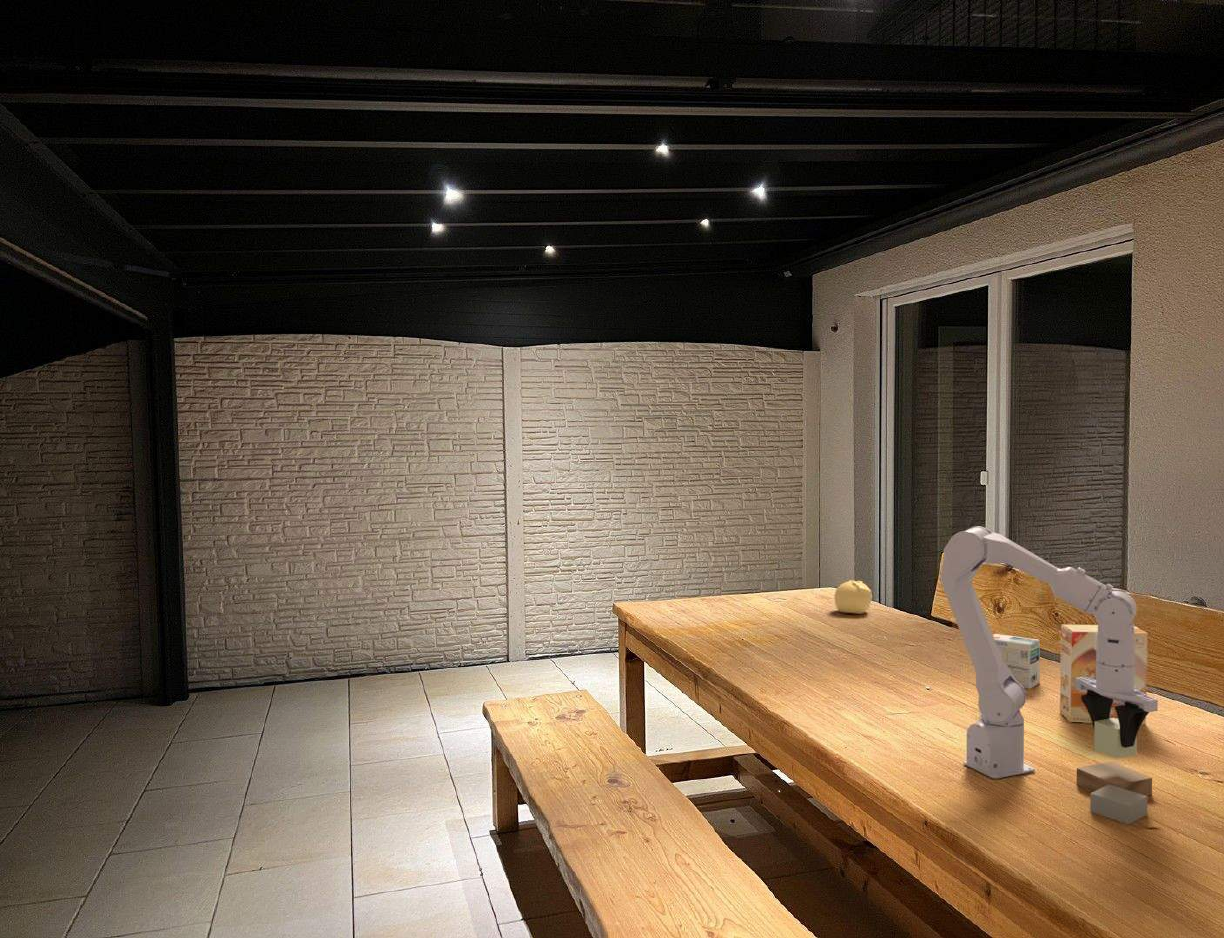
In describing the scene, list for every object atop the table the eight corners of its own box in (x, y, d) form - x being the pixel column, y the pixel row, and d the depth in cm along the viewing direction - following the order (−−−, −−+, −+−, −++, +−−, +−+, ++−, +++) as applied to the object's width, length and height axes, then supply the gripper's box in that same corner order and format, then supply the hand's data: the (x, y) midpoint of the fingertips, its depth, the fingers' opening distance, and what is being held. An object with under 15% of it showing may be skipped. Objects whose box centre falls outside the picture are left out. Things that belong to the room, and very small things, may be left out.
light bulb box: (1040, 683, 217) (1041, 638, 217) (1031, 689, 212) (1031, 644, 212) (995, 675, 225) (995, 632, 224) (984, 681, 220) (985, 637, 219)
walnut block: (1116, 802, 150) (1116, 784, 150) (1076, 784, 157) (1076, 767, 157) (1151, 795, 153) (1152, 777, 152) (1111, 777, 160) (1111, 761, 160)
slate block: (1128, 824, 142) (1129, 805, 142) (1090, 811, 147) (1090, 793, 147) (1147, 814, 145) (1147, 796, 145) (1108, 802, 150) (1109, 784, 150)
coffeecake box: (1070, 723, 189) (1071, 631, 188) (1058, 712, 196) (1059, 623, 195) (1147, 725, 187) (1148, 632, 186) (1132, 714, 194) (1134, 624, 193)
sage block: (1117, 758, 152) (1117, 729, 152) (1094, 749, 156) (1094, 721, 156) (1136, 754, 153) (1137, 725, 153) (1113, 745, 158) (1113, 717, 157)
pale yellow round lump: (876, 615, 294) (876, 582, 293) (839, 616, 294) (839, 583, 293) (866, 608, 305) (866, 576, 305) (830, 609, 305) (830, 577, 305)
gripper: (1171, 670, 148) (1170, 752, 149) (1096, 650, 162) (1096, 725, 163) (1139, 675, 146) (1139, 758, 147) (1066, 654, 160) (1066, 730, 160)
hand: (1114, 741), depth 155 cm, fingers closed on sage block, 4 cm apart
